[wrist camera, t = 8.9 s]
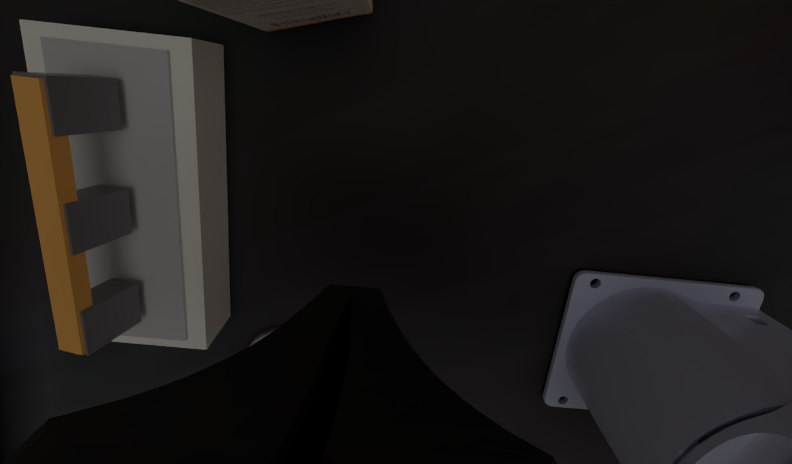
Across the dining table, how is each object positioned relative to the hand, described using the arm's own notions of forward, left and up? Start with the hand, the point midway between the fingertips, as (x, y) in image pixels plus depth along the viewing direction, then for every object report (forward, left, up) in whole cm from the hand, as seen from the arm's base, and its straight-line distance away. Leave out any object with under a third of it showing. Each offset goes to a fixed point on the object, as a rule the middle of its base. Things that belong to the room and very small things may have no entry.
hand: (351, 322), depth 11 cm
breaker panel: (+10, 0, -10) cm, 14 cm away
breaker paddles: (+10, 0, -7) cm, 12 cm away
